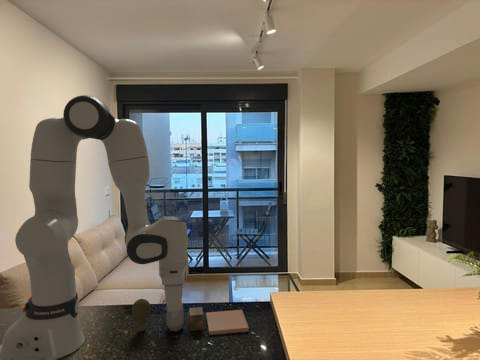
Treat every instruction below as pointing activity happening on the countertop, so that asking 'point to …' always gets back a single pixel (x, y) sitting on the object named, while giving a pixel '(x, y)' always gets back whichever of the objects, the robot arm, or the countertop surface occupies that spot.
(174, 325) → the salt shaker
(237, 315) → the terracotta tile
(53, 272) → the robot arm
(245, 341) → the countertop surface
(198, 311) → the walnut block
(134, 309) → the light bulb
